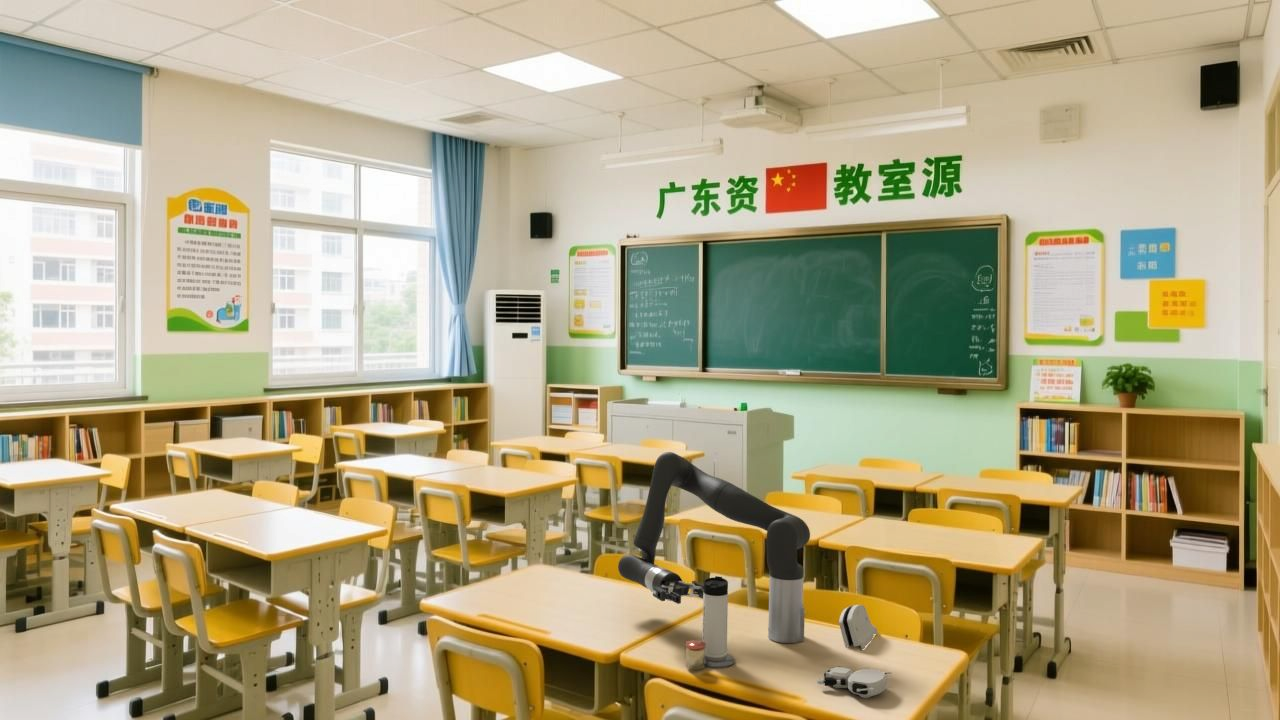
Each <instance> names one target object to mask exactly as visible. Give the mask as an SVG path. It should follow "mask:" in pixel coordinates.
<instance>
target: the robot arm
mask: <svg viewBox="0 0 1280 720" xmlns="http://www.w3.org/2000/svg"><path fill="white" fill-rule="evenodd" d="M671 487H676V488H678V489H681V490H683V491H686V492H688V493H690V494H693V495H694V496H696V497H698V498H699V499H700V500H701V501H702V502H703V503H704V504H705V505H706V506H708V507H709V508H710V509H712V510H714V511H715V512H716V513H718V514H720V515H722V516H724V517H725V518H727V519H729V520H731V521H734V522H738V523H740V524H744V525H749V526H753V527H757V528H760V529H762V530H764V531H766V539H765V540H766V542H765V543H766V544H765V545H766V563H767V567H768V569H769V570H768V571H769V580H768V581H769V585H768V587H769V588H768V590H769V592H768V626H767V631H768V633H767V637H768V638H769V639H770V640H771V641H773V642H776V643H782V644H796V643H800V642H805V619H806V618H805V617H806V616H805V614H806V613H805V612H806V607H805V605H804V604H803V603H804V567H803V566H802V564H800V563H798V550H799V549H801V548H803V547H804V546H806V545H807V544H808V542H809V541H810V538H811V532H810V528H809V526H808V524H807V523H806V522H805V521H804V520H803V519H802V518H800V517H799V516H797V515H795V514H792V513H790V512H787V511H784V510H782V509H779V508H777V507H774V506H772V505H770V504H769V503H767V502H765V501H763V500H762V499H760V498H759V497H756V496H754V495H752V493H751V494H750V493H749V492H747V491H745V490H744V489H742V488H741V487H739V486H736V485H735V484H733V483H731V482H729V481H728V480H724V479H722V478H719V477H717V476H714V475H710V474H708V473H706V472H705V471H703V470H701V469H700V468H699V467H697V466H696V465H694V464H693V463H692V462H690V461H689V460H688V459H686V458H685V457H683V456H681V455H679V454H678V453H675V452H671V451H666V452H663V453H661V454H660V455H659V456H658V457H657V459H656V461H655V462H654V466H653V470H652V475H651V481H650V484H649V490H648V495H647V499H646V503H645V506H644V511H643V514H642V517H641V520H640V522H639V525H638V527H637V530H636V533H635V536H634V538H633V539H634V540H633V545H634V546H635V548H636V547H637V548H638V549H639V550H640V551H641V557H640V556H637V555H633V554H631V553H630V554H625V555H624V556H622V557H621V558H620V560H619V561H618V565H617V570H618V572H619V574H620V576H621V577H622V578H624V579H627V580H629V581H631V582H634V583H637V584H638V585H641V586H643V587H644V588H646V589H647V590H649V591H650V592H652V596H653V597H654V598H656V599H657V600H659V601H660V602H665V601H669V602H673V603H675V604H677V605H679V604H681V603H682V597H689V598H693V597H699V598H701V599H702V600H703V595H704V594H703V592H704V583H701V582H699V581H697V580H692V581H691V583H690V582H685V581H683V580H682V578H681V576H680V575H679V574H677V573H676V572H673V571H671V570H670V569H667V568H665V567H661V566H659V565H657V564H655V559H656V551H657V547H658V543H659V541H660V538H661V534H662V532H663V529H664V524H665V515H666V514H665V512H666V503H667V497H668V494H669V490H670V489H671ZM689 591H690V593H689Z"/></svg>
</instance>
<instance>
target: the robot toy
mask: <svg viewBox="0 0 1280 720" xmlns="http://www.w3.org/2000/svg"><path fill="white" fill-rule="evenodd" d="M891 674H892V671H888V672H884V671H882V670H878V669H870V668H863V669H859V670H856V671H854V672H853V671H852V670H851V669H850V668H846V667H843V666H835V667H833V668H829V669H827V670H826V671H824V674H823V679H822V678H818V679H817V680H816V682H817V684H818V685H823V684H824V686H825V687H833V688H834V687H835V689H840V688H841V689H848V690H849V691H850V692H851V693H852V694H855V695H858V696H860V697H861V698H864V699H868V698H871V697H872V696H877V695H879V694H881V693H883V692H884V691H886V689H887V687H888V684H889V683H888V675H891Z"/></svg>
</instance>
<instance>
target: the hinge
mask: <svg viewBox="0 0 1280 720" xmlns="http://www.w3.org/2000/svg"><path fill="white" fill-rule="evenodd" d="M838 620H839V621H838V624H839V629H840V632H841V636H842V640H843V644H844V647H845V646H848V647H849V648H851V646H853V647H858V646H860V648H861V650H862V649H864V648H865V646H866V645H867V644H868V643H869V642H870V641H871V640H872V638H873V636H874V635H873V634H877V635H878V634H879V631H878V629H877V626H875V625H874V624H872V623H871V619H870V616H869V614H868V611H867V609H866V606H865V605H863V604H855V605H850V606H847V607H846V608H843V610H842V611H841V614H840V616H839V619H838ZM872 641H873V640H872ZM872 641H871V642H872Z"/></svg>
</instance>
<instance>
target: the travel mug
mask: <svg viewBox="0 0 1280 720" xmlns="http://www.w3.org/2000/svg"><path fill="white" fill-rule="evenodd" d="M703 584H704V592H703V594H704V595H703V599H702V640H701V641H703V642H705V643H706V647H705V652H704V655H706V656H707V658H708V661H711V662H720V661H724V660H725V659H726V658H727V652H728V618H729V617H728V615H729V614H728V613H729V612H728V611H729V610H728V607H729V604H728V603H729V596H728V595H729V591H728V590H729V587H728V586H729V582H728V580H727V579H725V578H724V577H722V576H717V575H715V576H714V577H709V578H706V579H705V580H704V581H703Z"/></svg>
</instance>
